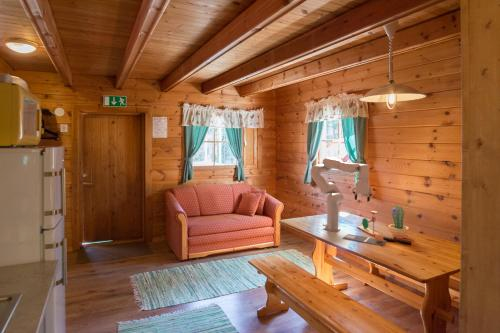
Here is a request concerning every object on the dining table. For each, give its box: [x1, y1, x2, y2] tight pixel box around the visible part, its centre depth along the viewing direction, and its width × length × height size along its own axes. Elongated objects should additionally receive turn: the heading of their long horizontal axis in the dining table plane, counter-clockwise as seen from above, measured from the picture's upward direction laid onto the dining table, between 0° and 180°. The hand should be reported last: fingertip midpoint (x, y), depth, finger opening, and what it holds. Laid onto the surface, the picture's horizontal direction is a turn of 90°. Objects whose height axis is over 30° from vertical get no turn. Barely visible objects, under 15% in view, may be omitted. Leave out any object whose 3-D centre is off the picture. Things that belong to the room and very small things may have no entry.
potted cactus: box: [387, 205, 410, 239], centre depth 271 cm, size 15×15×25 cm
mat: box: [342, 233, 387, 247], centre depth 263 cm, size 30×13×1 cm, turn 56°
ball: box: [374, 233, 384, 242], centre depth 256 cm, size 6×6×6 cm
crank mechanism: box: [356, 210, 379, 237], centre depth 285 cm, size 25×7×19 cm, turn 12°
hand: (362, 200), depth 271 cm, fingers open, 9 cm apart
